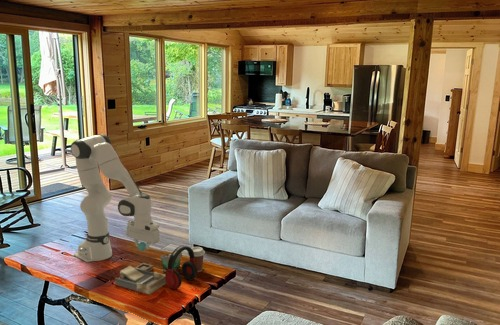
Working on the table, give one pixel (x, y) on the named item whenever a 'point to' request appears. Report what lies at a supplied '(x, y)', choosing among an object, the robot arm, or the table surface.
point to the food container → (166, 259)
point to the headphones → (187, 268)
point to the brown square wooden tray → (145, 267)
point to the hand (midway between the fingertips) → (142, 247)
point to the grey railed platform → (133, 285)
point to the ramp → (131, 273)
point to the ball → (142, 246)
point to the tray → (152, 284)
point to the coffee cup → (198, 257)
